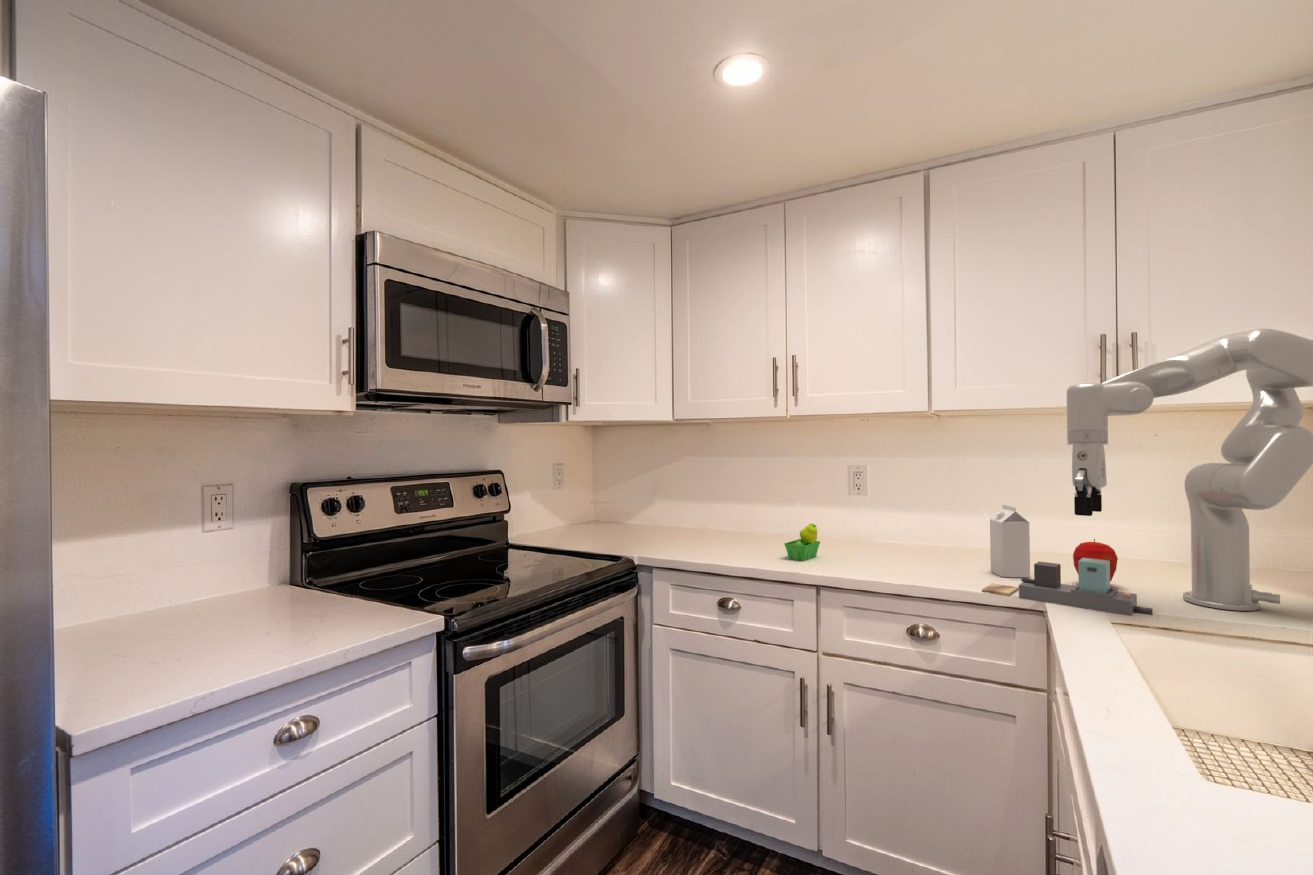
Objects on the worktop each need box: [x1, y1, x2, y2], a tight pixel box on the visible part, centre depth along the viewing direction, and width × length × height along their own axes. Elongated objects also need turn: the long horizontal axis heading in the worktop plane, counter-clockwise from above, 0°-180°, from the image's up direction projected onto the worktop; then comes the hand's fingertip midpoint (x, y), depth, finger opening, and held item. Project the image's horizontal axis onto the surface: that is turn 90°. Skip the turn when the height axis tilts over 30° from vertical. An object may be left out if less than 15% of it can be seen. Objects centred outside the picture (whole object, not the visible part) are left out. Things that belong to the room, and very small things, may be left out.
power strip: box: [1018, 561, 1154, 616], centre depth 135 cm, size 24×8×8 cm, turn 45°
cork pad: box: [981, 583, 1019, 597], centre depth 147 cm, size 6×8×1 cm
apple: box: [1072, 538, 1119, 582], centre depth 150 cm, size 9×9×12 cm
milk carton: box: [989, 504, 1031, 578], centre depth 163 cm, size 7×7×19 cm
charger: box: [1077, 558, 1111, 594], centre depth 133 cm, size 5×5×7 cm
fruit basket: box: [783, 523, 821, 562], centre depth 189 cm, size 11×9×11 cm
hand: (1088, 513), depth 134 cm, fingers open, 9 cm apart
